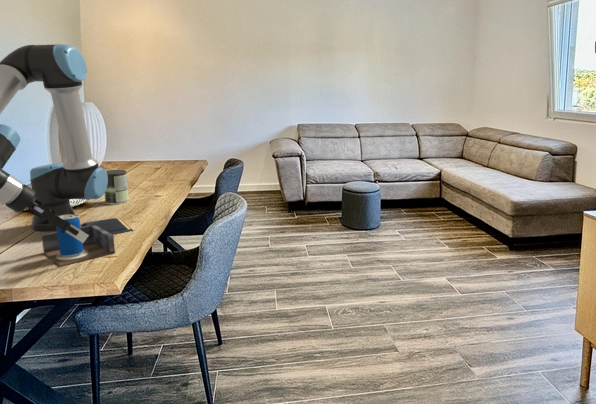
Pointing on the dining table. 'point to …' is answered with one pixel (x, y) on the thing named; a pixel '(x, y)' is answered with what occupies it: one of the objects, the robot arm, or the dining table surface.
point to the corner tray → (93, 246)
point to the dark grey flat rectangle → (110, 225)
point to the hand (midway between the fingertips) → (77, 233)
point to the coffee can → (116, 187)
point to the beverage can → (69, 238)
